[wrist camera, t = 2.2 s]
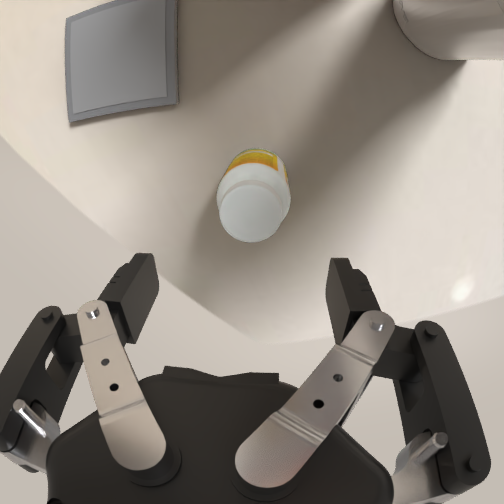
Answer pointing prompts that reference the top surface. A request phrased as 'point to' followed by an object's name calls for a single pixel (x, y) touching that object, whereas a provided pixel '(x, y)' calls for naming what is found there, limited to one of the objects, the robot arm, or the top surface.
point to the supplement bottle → (253, 195)
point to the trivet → (121, 57)
